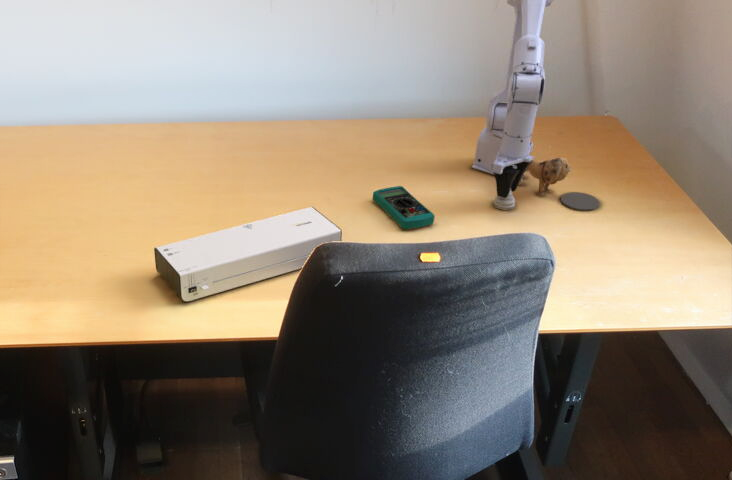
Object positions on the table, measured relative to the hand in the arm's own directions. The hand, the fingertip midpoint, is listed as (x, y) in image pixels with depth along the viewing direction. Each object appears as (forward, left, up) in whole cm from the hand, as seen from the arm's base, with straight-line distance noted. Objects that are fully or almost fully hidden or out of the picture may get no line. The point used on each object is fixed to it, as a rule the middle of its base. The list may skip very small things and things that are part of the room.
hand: (506, 193), depth 183 cm
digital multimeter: (-15, -17, -3) cm, 23 cm away
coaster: (+12, +12, -3) cm, 17 cm away
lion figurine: (+2, +13, -3) cm, 13 cm away
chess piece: (0, 0, -3) cm, 3 cm away
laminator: (-25, -54, -3) cm, 60 cm away
